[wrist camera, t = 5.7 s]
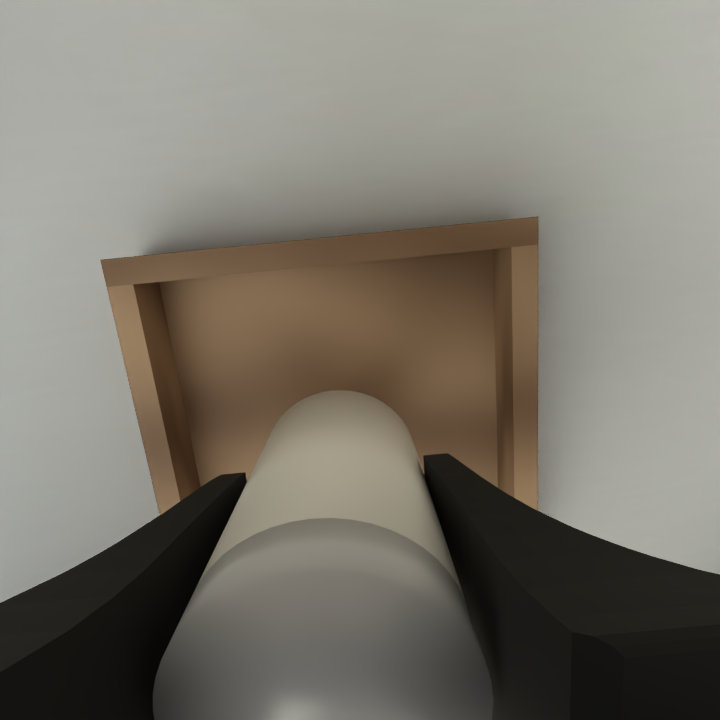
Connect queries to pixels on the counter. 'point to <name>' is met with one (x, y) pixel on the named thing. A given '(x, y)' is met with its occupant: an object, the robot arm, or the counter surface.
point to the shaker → (329, 587)
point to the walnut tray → (335, 345)
